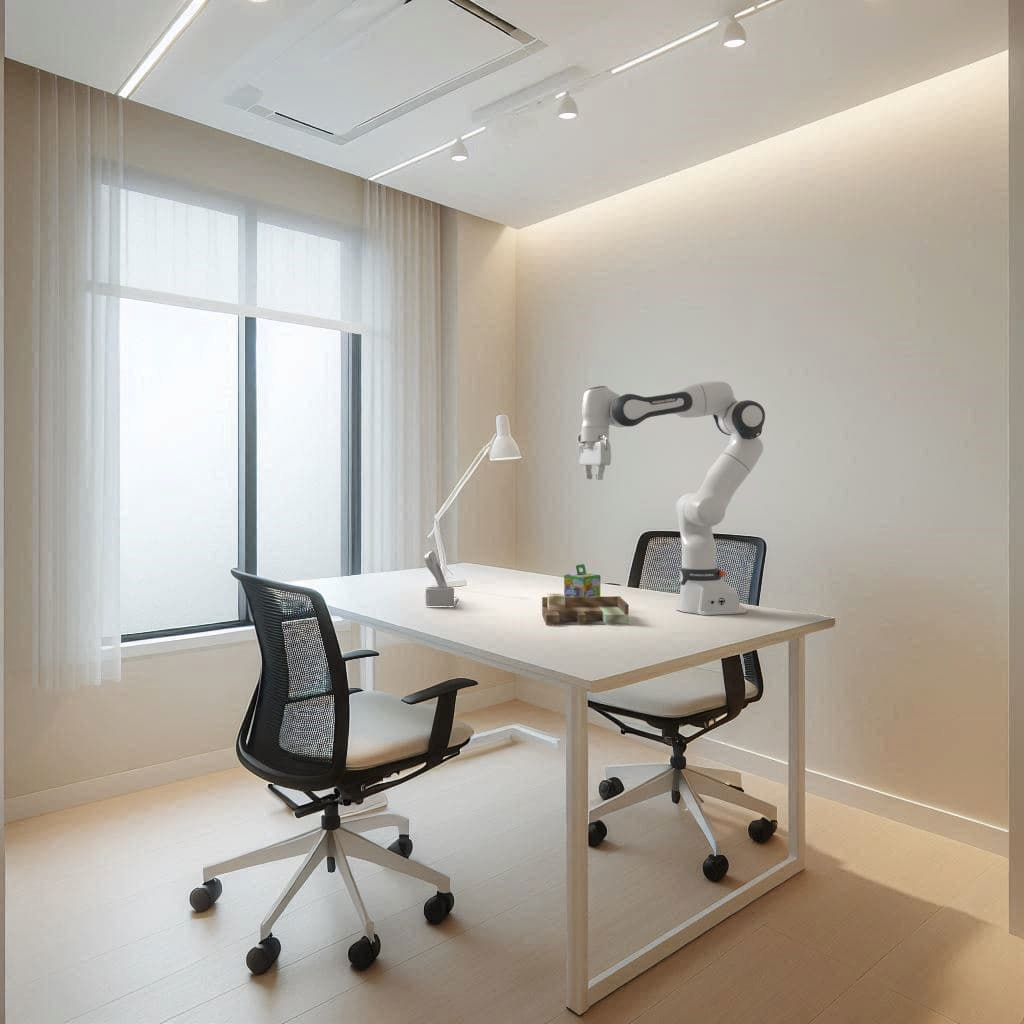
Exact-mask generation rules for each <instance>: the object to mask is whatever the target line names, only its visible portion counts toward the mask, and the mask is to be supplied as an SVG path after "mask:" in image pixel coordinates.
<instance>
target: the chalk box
mask: <svg viewBox="0 0 1024 1024" xmlns="http://www.w3.org/2000/svg"><path fill="white" fill-rule="evenodd" d="M575 569H576V573H575V572H574V573H567V574H564V575H563V577H564V578H563V591H564V592H563V594H564V595H565V597H599V596H601V575H600V574H595V573H588V572H587V570H586V566H585V564H584V563H583V564H577V565H575ZM580 569H582V571H580Z"/></svg>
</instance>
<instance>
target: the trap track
mask: <svg viewBox="0 0 1024 1024" xmlns="http://www.w3.org/2000/svg"><path fill="white" fill-rule="evenodd" d="M541 600H542V601H541V616H542V619H543V620H544V623H545V625H546V626H585V625H586V626H588V625H589V626H590V625H591V626H592V625H594V626H595V625H598V626H599V625H603V626H604V625H629V616H630V615H629V603H627V601H625V600H624V599H623V598H622V596H619V595H617V596H616V595H615V596H606V595H605V596H601V595H600V596H599V597H565V610H563V611H549V610H548V596H542V597H541Z"/></svg>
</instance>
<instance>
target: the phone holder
mask: <svg viewBox="0 0 1024 1024" xmlns="http://www.w3.org/2000/svg"><path fill="white" fill-rule="evenodd" d="M424 561H425V564H426V566H427V569H428V570H429V571H430V573H431V575H432V576H433V577H434V579H435V581H436V584H437V586H428V587H425V605H426V606H454V605H455V604H457V603H456V602H458V601H459V596H458V597H457V596H455V588H454V587H452V586H448V585H447V582H446V579H445V576H444V574H443V570H442V568H441V564H440V563H439V560H438V557H437V555H436V553H435V551H434V550H431V551H428V552H427V553H426V554H425V555H424ZM454 598H456V599H455V601H454ZM457 600H458V601H457ZM455 606H456V605H455Z"/></svg>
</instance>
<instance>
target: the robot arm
mask: <svg viewBox="0 0 1024 1024" xmlns="http://www.w3.org/2000/svg"><path fill="white" fill-rule="evenodd" d="M734 395H735V394H734V391H733V388H732V387H731V385H730V384H729V383H727V382H725V381H702V382H695V383H691V384H690V383H689V384H687V385H684V386H680V387H678V388H676V389H675V390H674V391H673V392H670V393H666V394H660V395H654V396H653V395H652V396H641V395H637V394H634V393H626V394H623V395H620V394H618V393H616V392H615V391H613V390H611V389H610V388H609V387H608V386H605V385H600V386H593V387H590V388H587V390H586V391H584V394H583V399H582V408H581V414H582V416H581V417H582V419H583V420H582V424H581V430H580V433H579V434H578V436H577V439H576V441H577V443H579V444H578V447H577V448H578V463H579V465H580V466H584V467H583V468H584V469H583V470H584V472H585V479H586V480H592V479H593V473H592V470H593V466H596V468H597V472H596V474H595V479H596V480H597V481H602V480H603V479H604V473H605V470H606V466H610V465H611V463H612V451H611V450H612V447H611V443H610V426H614V427H617V428H627V427H634V426H637V425H640V424H641V423H642V422H643V421H645V420H647V419H649V418H652V417H659V416H665V415H677V416H678V417H680V418H685V419H686V418H700V417H706V416H712V417H713V419H714V421H715V424H716V425H715V426H716V427H717V429H718V430H719V432H721V433H722V434H724V435H727V436H730V440H729V443H728V445H727V446H726V448H725V449H724V450H723V451H722V453H721V454H720V455H719V456H718V458H717V459H716V460H715V461H714V463H713V464H712V465H711V467H709V470H707V473H706V476H705V479H704V481H703V482H702V484H701V487H700V488H699V490H698V491H696V492H695V491H694V492H693V491H690V492H687V493H685V494H683V495H682V496H681V497H679V498H678V499H677V501H676V503H675V512H676V515H677V520H678V526H679V527H678V528H679V533H680V541H681V566H680V570H679V583H680V589H679V596H678V600H677V605H676V608H675V609H676V610H677V611H680V612H684V613H689V614H697V615H702V616H712V615H713V616H714V615H715V616H717V615H734V614H735V615H736V614H737V615H738V614H746V613H747V608H746V607H745V606H743V605H741V604H740V598H739V593H738V592H737V591H736V589H734V588H732V586H730V585H729V584H728V583H727V582H725V581H724V580H723V579H722V578H723V577H724V578H725V577H726V576H727V572H726V570H724V569H721V570H720V569H719V568H718V567H717V543H716V541H715V537H714V534H713V528H712V527H714V526H717V525H719V524H720V523H721V522H722V521H723V520H724V518H725V515H726V510H727V508H728V506H729V504H730V502H731V500H732V498H733V496H734V495H735V493H736V491H738V489H739V487H740V486H741V485H742V484H743V482H744V481H745V479H746V478H747V477H748V476H749V474H750V473H751V472H752V470H753V468H754V467H755V466H756V464H757V463H758V461H759V459H760V458H761V456H762V454H763V452H764V444H763V442H762V440H761V439H760V438H759V436H760V435H761V434H762V432H763V427H764V424H765V420H766V412H765V409H764V408H763V406H762V405H761V404H760V403H759V402H757V401H753V400H748V399H746V400H739V401H738V400H737V399H736V398H735V396H734Z"/></svg>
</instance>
